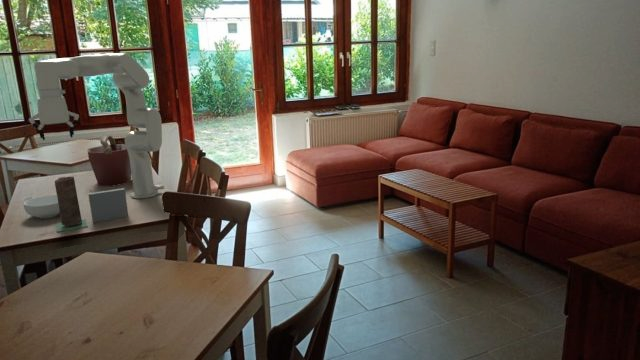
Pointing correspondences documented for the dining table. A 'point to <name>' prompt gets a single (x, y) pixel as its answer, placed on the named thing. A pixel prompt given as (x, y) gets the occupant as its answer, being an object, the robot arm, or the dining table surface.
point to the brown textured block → (68, 201)
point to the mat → (65, 228)
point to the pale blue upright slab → (108, 204)
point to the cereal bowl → (42, 207)
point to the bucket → (110, 162)
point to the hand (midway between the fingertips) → (57, 138)
